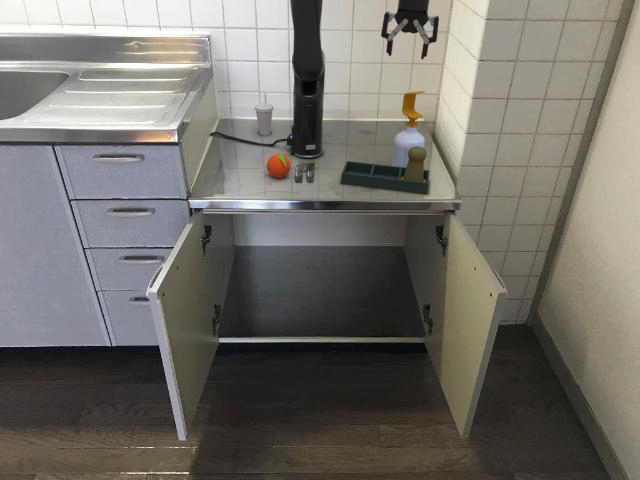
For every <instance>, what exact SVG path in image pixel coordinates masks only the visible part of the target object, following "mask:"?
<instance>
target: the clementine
mask: <svg viewBox="0 0 640 480" xmlns="http://www.w3.org/2000/svg"><path fill="white" fill-rule="evenodd" d="M291 167H292V166H291V161H290V159H289V158H288V157H287V156H286V155H285V154H283V153H274V154H272V155H271V156H270V157H269V158H268V159H267V162H266V170H267V171H268V174H269V175H270V176H272V177H273V178H277V179H280V178H281V179H282V178H284V177H286V176H287V175H289V173H290V170H291Z"/></svg>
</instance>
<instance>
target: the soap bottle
mask: <svg viewBox="0 0 640 480" xmlns="http://www.w3.org/2000/svg"><path fill="white" fill-rule="evenodd" d="M420 94H426V91H425V90H424V91H423V90H422V91H412V92H405V93H404V94H403V99H402V107H401V113H402V114H403V116H406V117H407V119H408V120H409V121H407V122H406V123H405V129H404V130H402V131H400V132H398V133H397V134H396V135H395V137H394V139H393V147H392V153H391V154H392V155H391V164H390V166H396V167H405V168H407V164H408V161H409V157H408V151H409V149H410V148H411V147H414V146H420V147H423V148H424V149H425V144H426V140H425V137H424V136H423V135H422V134H421V133H420V132H418V122H416V121H417V120H418V119H421V118H423V114H421V113H420V112H417V111H416V109H415V105H416V98H417V95H420Z"/></svg>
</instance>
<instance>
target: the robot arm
mask: <svg viewBox="0 0 640 480" xmlns="http://www.w3.org/2000/svg"><path fill="white" fill-rule="evenodd" d="M323 2H324V0H289V5H290V14H291V20H292V27H293V49H292V50H293V52H292V54H293V55H292V62H291V63H292V64H291V65H292V69H293V92H292V103H293V104H292V112H293V113H292V118H293V120H292V125H291V133H289V134H288V136H287V137H286V138H281V139H276V140H275V141H273V143H262V142H257V141H253V140H247V139H243V138H239V137H236V136H232V135H228V134H225V133H222V132H219V131H213V132H211V133H209V136H211V137H212V136H214V135H219V136H221V137H224V138H226V139H230V140H234V141H238V142H242V143H246V144H252V145H255V146H261V147H274V146H275V145H277V144H278V143H281V142H286V146H287V147H291V155H292V156H295V157H297V158H302V159H315V158H319V157H320V156H322V154H323V130H324V129H323V127H324V126H323V125H324V99H325V98H324V97H325V78H326V55H325V52H324V50H323V49H322V41H321V20H322V14H323V5H324V4H323ZM429 5H430V0H398V3H397V10H396V12H390V11H386V12H385V13H384V15H383V21H382V27H381V31H380V32H381V33H380V37H381V38H383V39H386V50H385V51H386V54H387V55H388V56H389V57H391V56H392V54H393V47H394V39H395V37H396V36H397V35H398V34H399V33H400V32H402V33H404V34H408V33H410V34H418V35H419V36H420V38H421V39H422V41H423V43H422V50H421V56H420V59H421V60H424V58H427V56H428V51H429V46H430V44H433V43H436V42H437V41H438V32H439V31H438V30H439V22H440V16H439V15H435V16H429V14H428V13H429ZM393 19H394V20H395V22H396V24H397V25H396V27H395V28H394V29H393V30H392V31H391V32H390V33H389V32H388V27H389V23H391V22H392V20H393ZM428 22H429V23H430V24H429V25H430V26H431V27H433V28H432V35H431V36H428V34H427V31H426V29H425V25H426V24H427V23H428Z"/></svg>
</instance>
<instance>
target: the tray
mask: <svg viewBox="0 0 640 480" xmlns="http://www.w3.org/2000/svg"><path fill="white" fill-rule="evenodd" d="M405 171H406V168H405V167H396V166H391V165H387V164H386V165H385V164H378V163H370V162H362V161H361V162H360V161H352V160H346V161H345V164H344V166H343V169H342V171H341V178H340V179H341V181H340V183H341V185H347V186H348V185H349V186H358V187H365V188H372V189H380V190H381V189H382V190H390V191H396V192H397V191H398V192H405V193H412V194H413V193H414V194H421V195H428V193H429V192H428V190H429V185H430V169H424V176H423V182H419V181H411V180H403V178H404V175H405Z"/></svg>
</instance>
